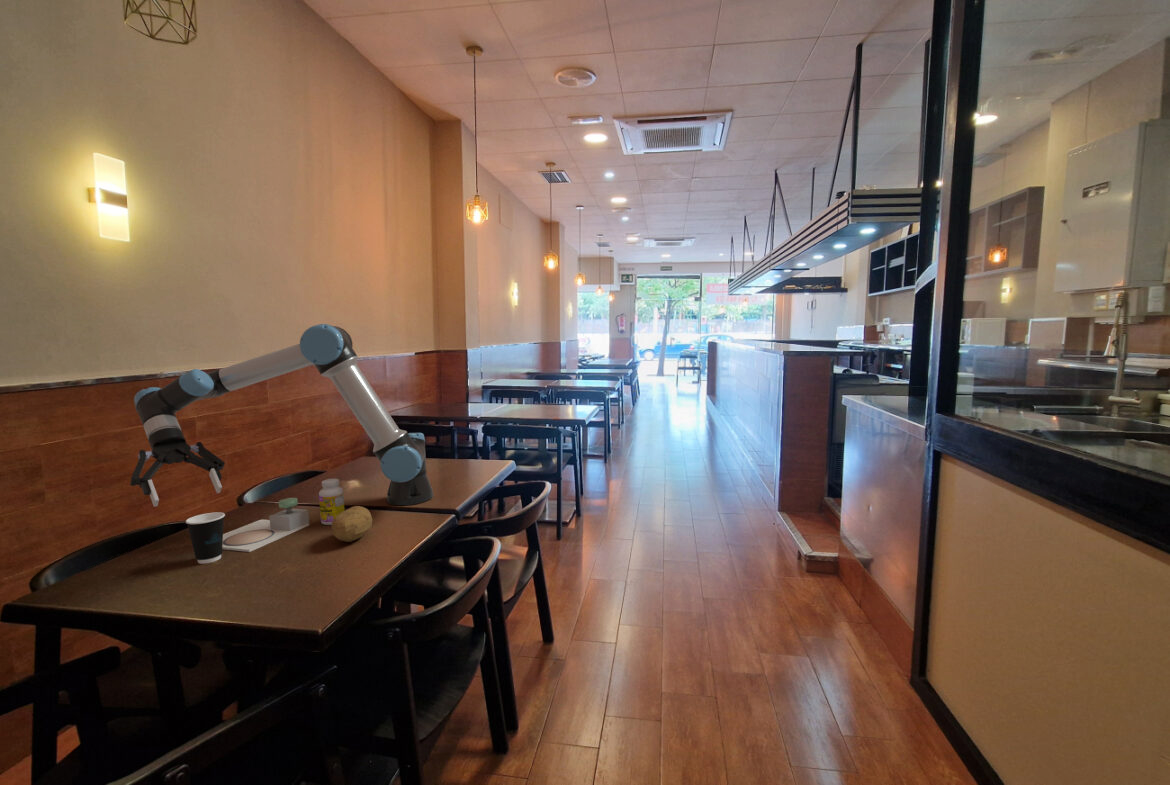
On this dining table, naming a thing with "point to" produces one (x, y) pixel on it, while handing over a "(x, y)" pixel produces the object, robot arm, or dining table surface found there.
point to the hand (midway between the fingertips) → (189, 496)
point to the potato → (351, 524)
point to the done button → (288, 504)
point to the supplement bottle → (330, 501)
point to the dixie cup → (207, 536)
